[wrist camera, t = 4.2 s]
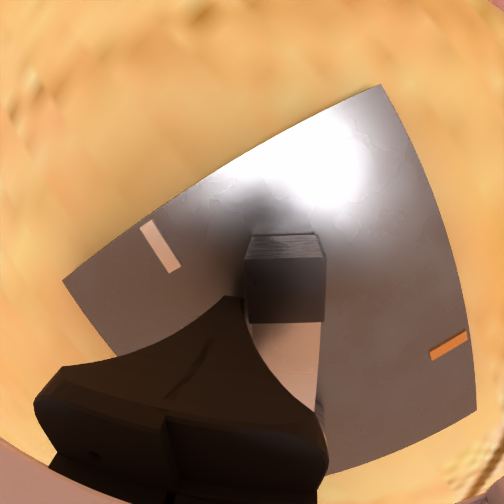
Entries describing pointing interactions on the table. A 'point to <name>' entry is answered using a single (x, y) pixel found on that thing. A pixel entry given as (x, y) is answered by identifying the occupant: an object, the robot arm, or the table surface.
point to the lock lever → (288, 309)
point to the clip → (498, 3)
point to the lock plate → (337, 275)
